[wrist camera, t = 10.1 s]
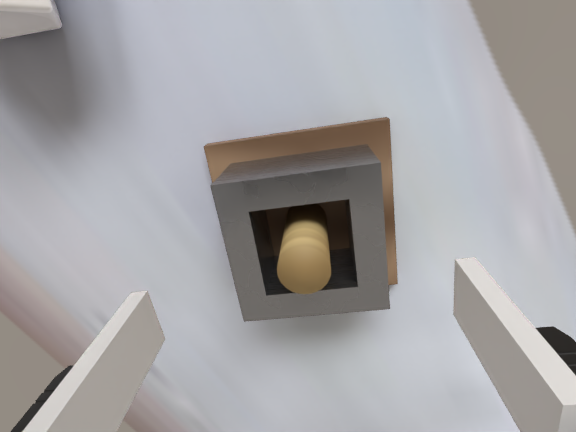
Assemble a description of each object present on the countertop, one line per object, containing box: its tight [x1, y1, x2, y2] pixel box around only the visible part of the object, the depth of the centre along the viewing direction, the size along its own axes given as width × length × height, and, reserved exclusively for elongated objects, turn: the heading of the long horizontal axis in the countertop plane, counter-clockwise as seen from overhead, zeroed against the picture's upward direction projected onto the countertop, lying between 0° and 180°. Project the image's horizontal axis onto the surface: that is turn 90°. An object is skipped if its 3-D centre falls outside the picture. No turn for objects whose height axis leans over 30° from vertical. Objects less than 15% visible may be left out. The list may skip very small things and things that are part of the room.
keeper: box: [204, 117, 398, 294], centre depth 22 cm, size 12×12×8 cm
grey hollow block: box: [210, 144, 390, 322], centre depth 22 cm, size 9×9×5 cm
